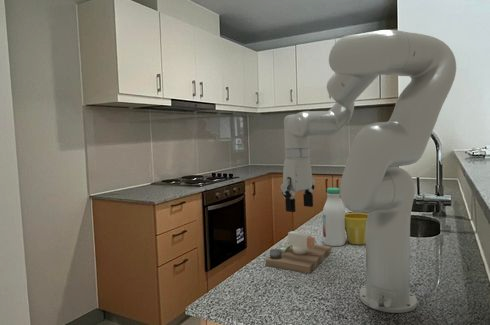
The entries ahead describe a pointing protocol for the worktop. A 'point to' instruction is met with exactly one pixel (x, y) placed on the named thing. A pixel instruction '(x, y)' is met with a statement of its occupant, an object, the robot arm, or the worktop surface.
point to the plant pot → (356, 228)
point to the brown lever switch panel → (297, 258)
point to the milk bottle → (333, 219)
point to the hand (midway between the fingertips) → (299, 208)
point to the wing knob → (300, 242)
